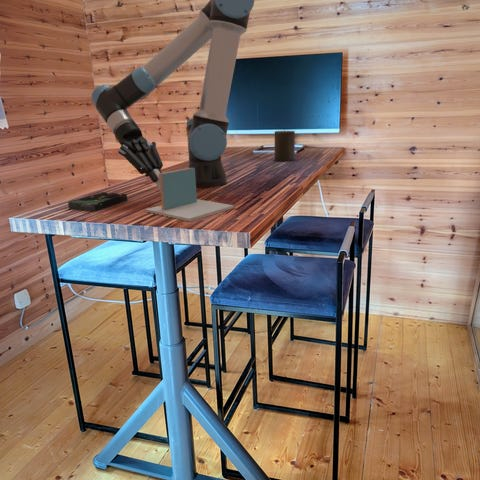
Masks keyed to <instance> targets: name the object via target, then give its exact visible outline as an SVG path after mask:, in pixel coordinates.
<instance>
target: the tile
mask: <svg viewBox="0 0 480 480" xmlns="http://www.w3.org/2000/svg"><path fill="white" fill-rule="evenodd" d="M159 182H160V189H159V191H160V202H161V204H160V205H162V209H163V210H168V209H172V208H176V207H179V206H183V205H187V204H191V203H194V202H197V199H198V198H197V197H198V195H197V187H196V179H195V168H188V167H187V168H182V169H181V168H180V169H176V170H171V171H166V172H162V173H159Z"/></svg>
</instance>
